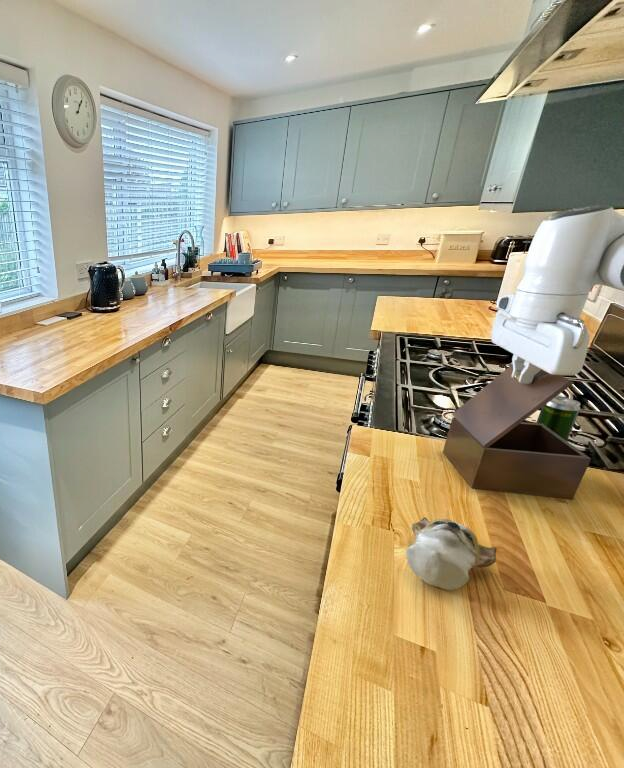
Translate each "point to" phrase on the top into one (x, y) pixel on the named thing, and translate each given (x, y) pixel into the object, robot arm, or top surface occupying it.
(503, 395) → the box lid
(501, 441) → the keepsake box
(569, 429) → the beer can
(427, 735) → the top surface
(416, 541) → the ceramic sculpture
